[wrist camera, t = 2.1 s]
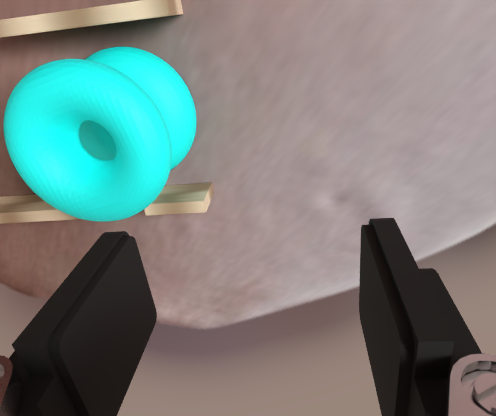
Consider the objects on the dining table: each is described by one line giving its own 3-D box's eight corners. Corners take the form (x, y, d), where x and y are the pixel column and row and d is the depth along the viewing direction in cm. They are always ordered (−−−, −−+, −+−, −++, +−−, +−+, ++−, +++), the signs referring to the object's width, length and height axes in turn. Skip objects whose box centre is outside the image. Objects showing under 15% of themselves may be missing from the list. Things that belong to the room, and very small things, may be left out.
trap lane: (180, -2, 27) (158, -4, 22) (213, 192, 33) (202, 221, 29) (-117, 38, 30) (-187, 44, 25) (-32, 208, 37) (-75, 236, 32)
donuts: (113, 35, 19) (190, 209, 23) (169, 25, 27) (217, 152, 32) (-45, 96, 21) (51, 244, 25) (54, 69, 30) (113, 182, 34)
